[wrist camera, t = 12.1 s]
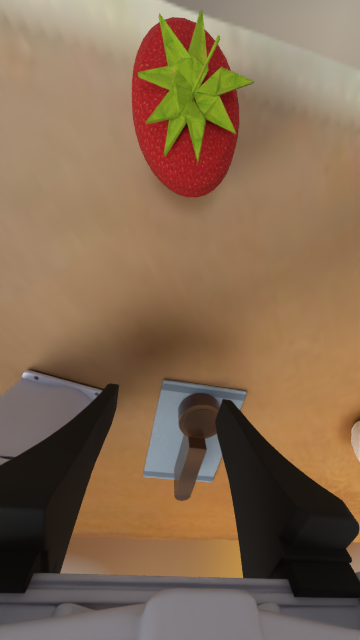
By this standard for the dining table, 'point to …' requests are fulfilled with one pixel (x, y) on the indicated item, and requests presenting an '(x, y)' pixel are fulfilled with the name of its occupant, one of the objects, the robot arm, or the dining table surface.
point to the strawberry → (185, 106)
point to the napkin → (170, 435)
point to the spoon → (193, 440)
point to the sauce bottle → (356, 439)
